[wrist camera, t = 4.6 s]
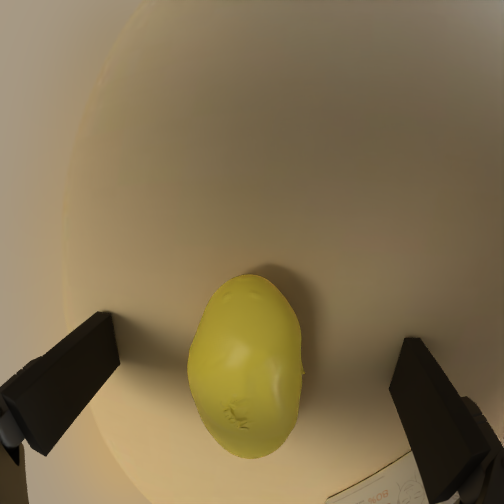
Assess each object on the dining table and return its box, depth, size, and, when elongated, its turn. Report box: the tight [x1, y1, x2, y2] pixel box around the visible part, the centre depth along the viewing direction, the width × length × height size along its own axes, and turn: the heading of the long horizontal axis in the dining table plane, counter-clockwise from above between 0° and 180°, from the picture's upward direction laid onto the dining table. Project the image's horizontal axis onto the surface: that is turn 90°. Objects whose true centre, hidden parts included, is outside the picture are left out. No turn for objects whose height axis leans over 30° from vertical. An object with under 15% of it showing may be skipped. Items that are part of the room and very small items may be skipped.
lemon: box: [187, 274, 306, 459], centre depth 10 cm, size 4×8×4 cm, turn 176°
